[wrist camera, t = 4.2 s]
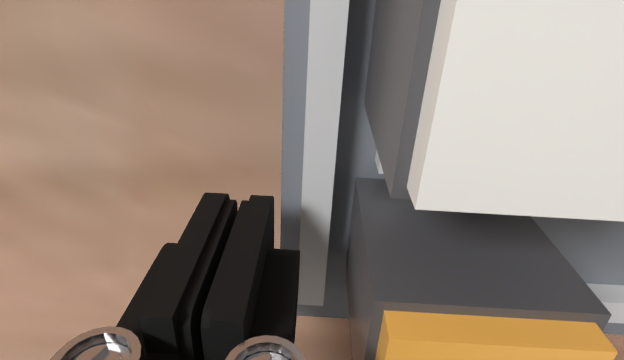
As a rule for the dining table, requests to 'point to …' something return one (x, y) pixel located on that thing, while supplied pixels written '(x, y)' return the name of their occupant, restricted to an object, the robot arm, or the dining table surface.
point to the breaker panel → (373, 163)
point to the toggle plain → (500, 105)
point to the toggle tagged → (463, 287)
